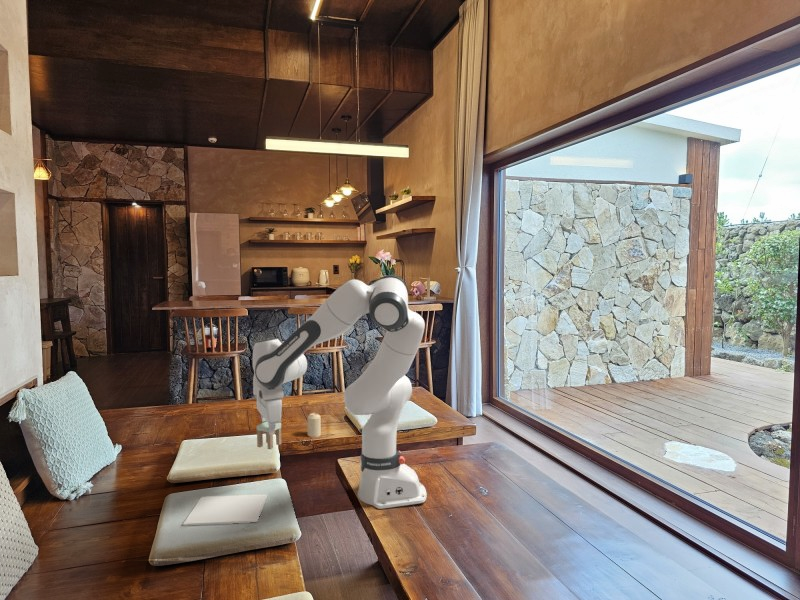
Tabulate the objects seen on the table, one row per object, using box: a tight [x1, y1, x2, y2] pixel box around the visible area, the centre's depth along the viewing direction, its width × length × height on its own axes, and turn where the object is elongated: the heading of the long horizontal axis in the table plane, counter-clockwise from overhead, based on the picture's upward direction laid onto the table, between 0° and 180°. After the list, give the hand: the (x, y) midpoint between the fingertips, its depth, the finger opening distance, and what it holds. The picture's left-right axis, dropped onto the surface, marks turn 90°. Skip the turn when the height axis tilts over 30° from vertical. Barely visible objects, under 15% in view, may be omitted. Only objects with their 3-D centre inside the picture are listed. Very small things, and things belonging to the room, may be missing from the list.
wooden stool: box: [256, 422, 282, 450], centre depth 159 cm, size 6×6×7 cm
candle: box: [307, 412, 322, 438], centre depth 205 cm, size 6×6×10 cm
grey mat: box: [182, 493, 269, 527], centre depth 143 cm, size 20×16×1 cm
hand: (268, 430), depth 159 cm, fingers closed on wooden stool, 8 cm apart
